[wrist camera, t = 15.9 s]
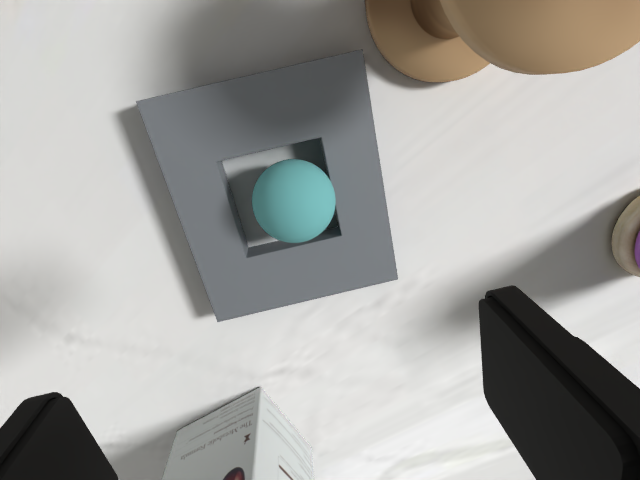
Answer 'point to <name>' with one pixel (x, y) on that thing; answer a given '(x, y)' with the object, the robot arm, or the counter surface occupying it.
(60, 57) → the counter surface
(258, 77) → the square hole board
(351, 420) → the counter surface
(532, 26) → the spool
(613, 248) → the stacking toy
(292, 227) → the teal ball
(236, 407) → the supplement box
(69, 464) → the robot arm
